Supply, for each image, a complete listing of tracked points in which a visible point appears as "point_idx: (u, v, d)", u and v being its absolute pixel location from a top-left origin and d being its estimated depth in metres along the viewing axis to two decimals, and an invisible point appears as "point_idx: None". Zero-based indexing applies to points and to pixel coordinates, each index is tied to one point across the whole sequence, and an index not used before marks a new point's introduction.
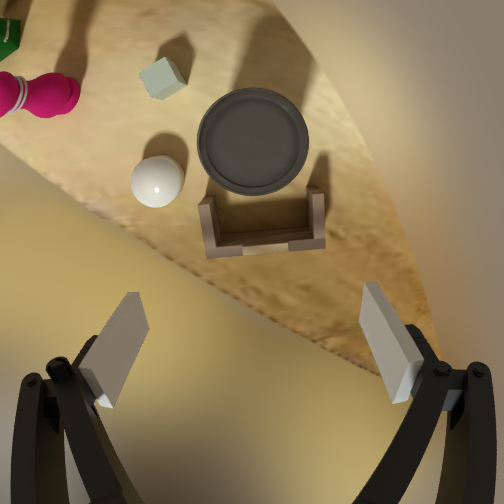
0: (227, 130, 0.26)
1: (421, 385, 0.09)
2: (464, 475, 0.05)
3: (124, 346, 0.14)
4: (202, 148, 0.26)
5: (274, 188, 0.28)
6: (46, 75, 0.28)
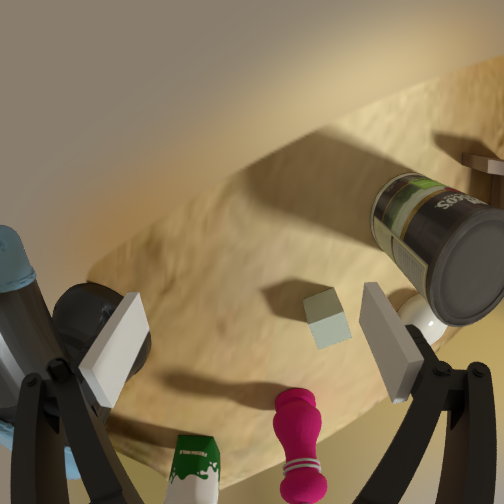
0: (463, 297, 0.19)
1: (421, 385, 0.09)
2: (464, 475, 0.05)
3: (124, 346, 0.14)
4: (466, 321, 0.20)
5: None
6: (280, 430, 0.36)
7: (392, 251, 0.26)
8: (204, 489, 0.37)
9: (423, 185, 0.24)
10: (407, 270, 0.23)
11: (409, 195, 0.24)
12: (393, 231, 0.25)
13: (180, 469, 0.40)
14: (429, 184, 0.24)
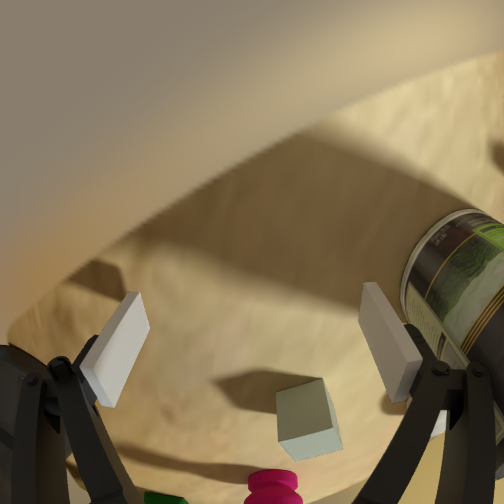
0: None
1: (420, 385, 0.09)
2: (464, 475, 0.05)
3: (125, 346, 0.14)
4: None
5: None
6: None
7: (438, 355, 0.13)
8: None
9: (501, 242, 0.11)
10: None
11: (481, 263, 0.12)
12: (448, 328, 0.12)
13: None
14: None
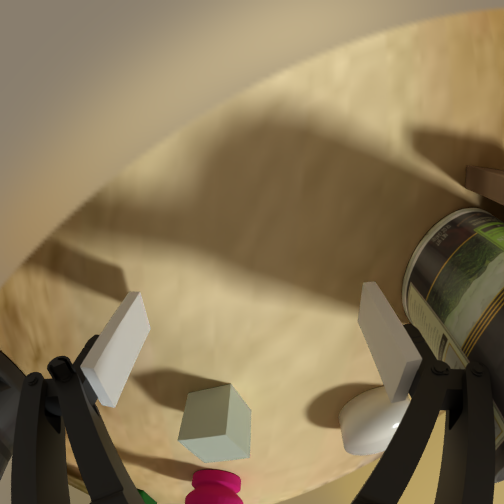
0: None
1: (419, 385, 0.09)
2: (463, 475, 0.05)
3: (125, 345, 0.14)
4: None
5: None
6: None
7: (439, 357, 0.13)
8: None
9: (502, 242, 0.11)
10: None
11: (482, 263, 0.11)
12: (450, 330, 0.12)
13: None
14: None
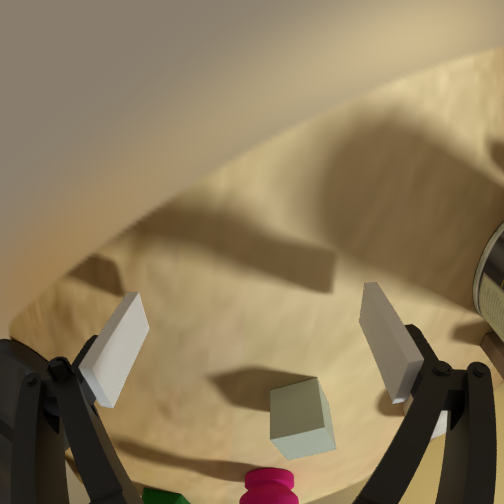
0: None
1: (421, 385, 0.09)
2: (464, 475, 0.05)
3: (124, 346, 0.14)
4: None
5: None
6: None
7: None
8: None
9: None
10: None
11: None
12: None
13: None
14: None
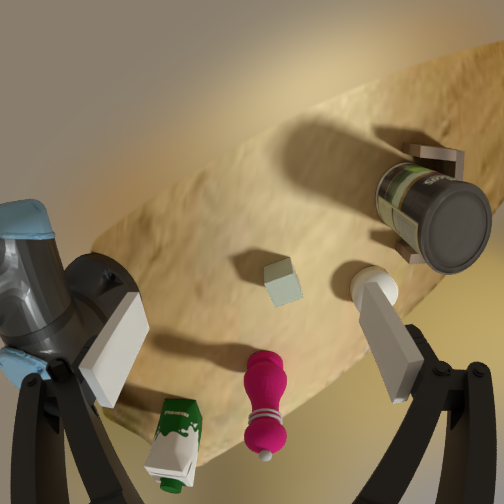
0: (447, 249, 0.26)
1: (421, 385, 0.09)
2: (464, 475, 0.05)
3: (124, 346, 0.14)
4: (452, 270, 0.27)
5: (490, 216, 0.24)
6: (248, 385, 0.44)
7: (393, 220, 0.34)
8: (183, 445, 0.45)
9: (415, 170, 0.32)
10: (404, 232, 0.31)
11: (404, 177, 0.32)
12: (393, 204, 0.33)
13: (164, 427, 0.48)
14: (420, 169, 0.31)
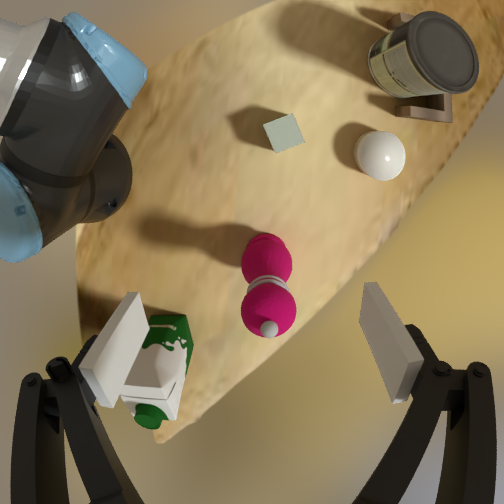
0: (439, 65, 0.22)
1: (421, 385, 0.09)
2: (464, 475, 0.05)
3: (124, 346, 0.14)
4: (451, 88, 0.23)
5: (473, 48, 0.20)
6: (247, 263, 0.40)
7: (385, 65, 0.29)
8: (167, 360, 0.41)
9: None
10: (397, 63, 0.26)
11: None
12: (383, 50, 0.28)
13: (145, 340, 0.44)
14: None
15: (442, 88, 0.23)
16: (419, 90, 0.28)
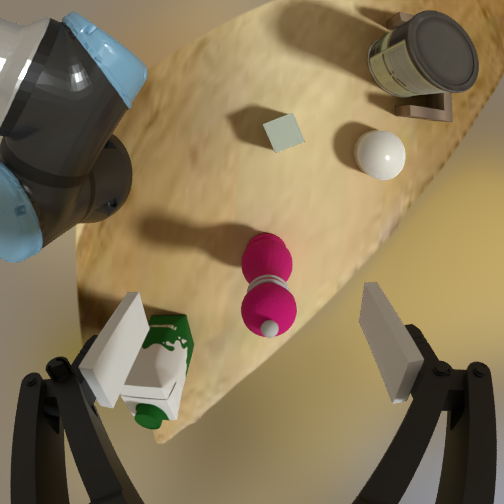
0: (439, 64, 0.22)
1: (421, 385, 0.09)
2: (464, 475, 0.05)
3: (124, 346, 0.14)
4: (451, 87, 0.23)
5: (473, 47, 0.20)
6: (247, 262, 0.40)
7: (385, 64, 0.29)
8: (167, 360, 0.41)
9: None
10: (396, 62, 0.26)
11: (389, 32, 0.28)
12: (383, 49, 0.28)
13: (145, 340, 0.44)
14: None
15: (442, 87, 0.23)
16: (419, 89, 0.28)
